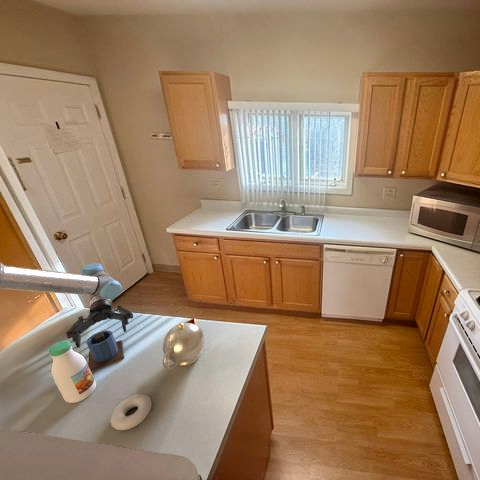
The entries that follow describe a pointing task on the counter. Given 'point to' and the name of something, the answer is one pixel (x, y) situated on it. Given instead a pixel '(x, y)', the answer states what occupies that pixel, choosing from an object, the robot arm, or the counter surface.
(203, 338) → the teapot
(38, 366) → the counter surface
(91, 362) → the post stand
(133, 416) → the donut
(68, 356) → the milk bottle
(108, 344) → the ring sleeve
